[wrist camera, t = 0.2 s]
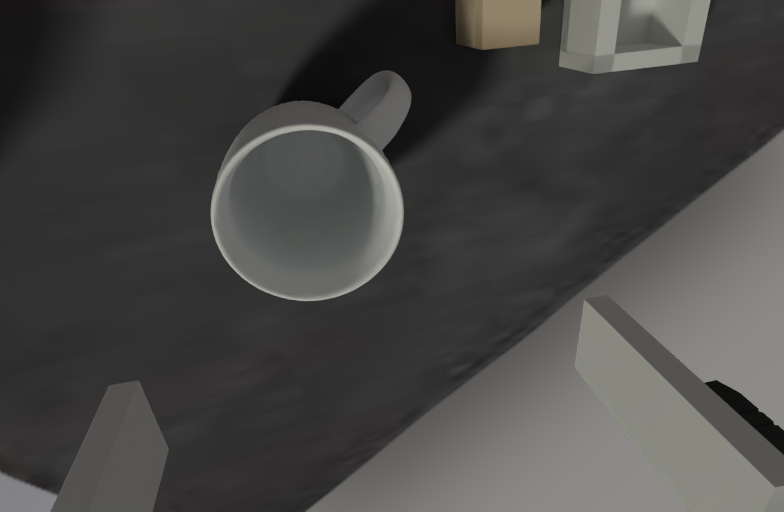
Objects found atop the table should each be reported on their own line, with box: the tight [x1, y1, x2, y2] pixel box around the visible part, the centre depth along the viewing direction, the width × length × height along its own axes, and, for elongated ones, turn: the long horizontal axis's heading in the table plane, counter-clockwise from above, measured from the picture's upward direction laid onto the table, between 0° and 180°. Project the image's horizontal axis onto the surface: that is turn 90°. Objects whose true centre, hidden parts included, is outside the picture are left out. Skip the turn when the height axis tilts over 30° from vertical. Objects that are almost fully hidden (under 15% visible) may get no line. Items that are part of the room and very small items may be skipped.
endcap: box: [559, 0, 711, 74], centre depth 36 cm, size 6×8×5 cm
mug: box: [211, 71, 411, 301], centre depth 32 cm, size 15×11×13 cm
